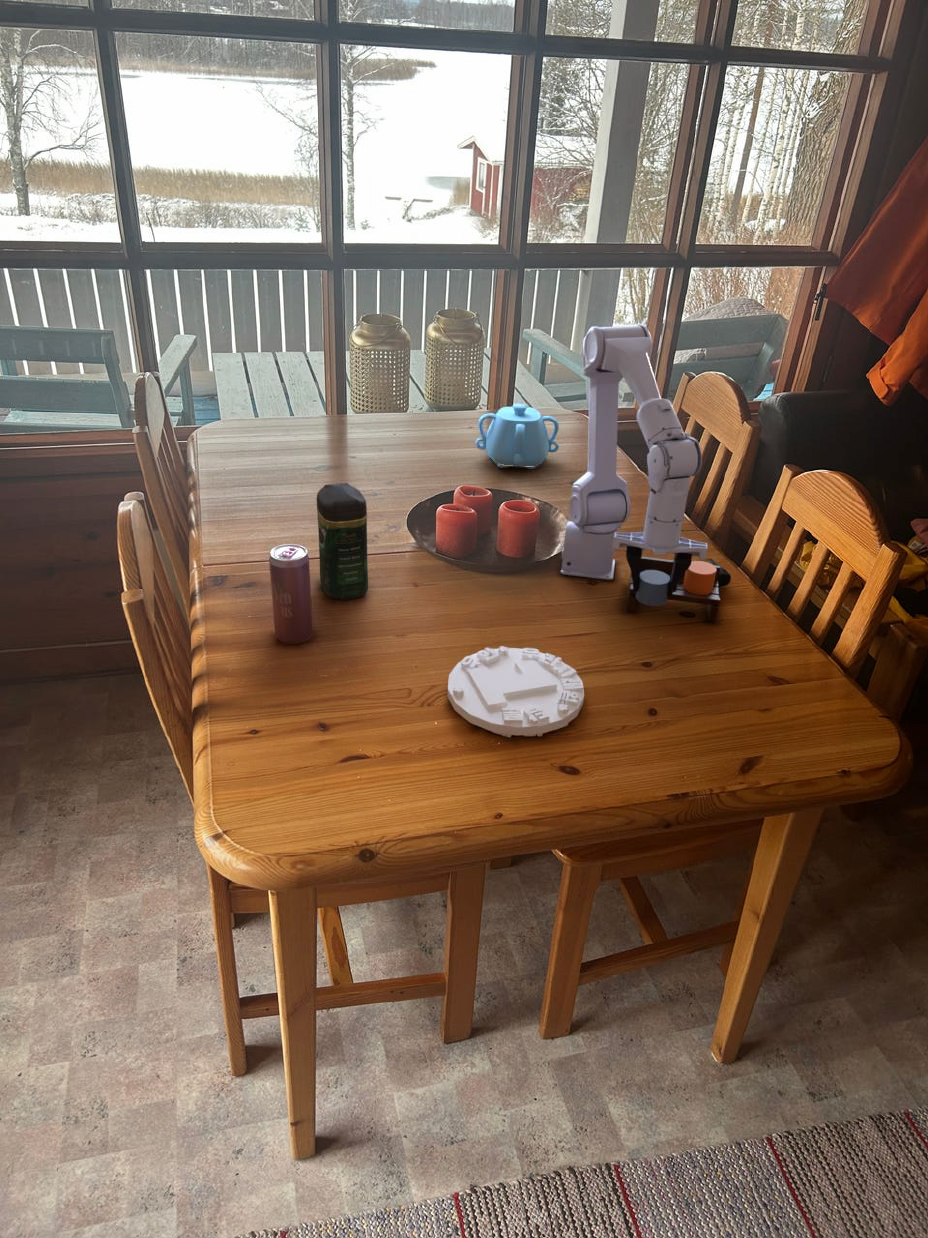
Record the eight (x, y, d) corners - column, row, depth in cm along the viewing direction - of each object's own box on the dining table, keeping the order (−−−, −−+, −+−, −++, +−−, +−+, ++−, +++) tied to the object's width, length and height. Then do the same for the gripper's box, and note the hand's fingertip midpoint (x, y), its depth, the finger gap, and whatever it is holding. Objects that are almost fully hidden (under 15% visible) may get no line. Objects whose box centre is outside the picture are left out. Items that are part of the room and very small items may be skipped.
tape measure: (730, 590, 165) (734, 572, 163) (697, 595, 163) (700, 576, 161) (710, 573, 171) (714, 555, 169) (678, 577, 169) (681, 559, 167)
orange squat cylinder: (683, 593, 155) (686, 572, 153) (682, 579, 160) (686, 559, 158) (713, 596, 155) (717, 576, 153) (712, 583, 159) (716, 562, 157)
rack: (626, 612, 157) (631, 578, 154) (628, 587, 165) (633, 555, 161) (715, 623, 155) (722, 590, 152) (713, 598, 162) (720, 565, 159)
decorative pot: (564, 465, 215) (570, 409, 208) (512, 479, 206) (516, 420, 199) (519, 444, 226) (524, 390, 219) (468, 456, 217) (471, 400, 210)
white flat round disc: (450, 656, 143) (451, 641, 141) (576, 662, 143) (578, 647, 141) (444, 736, 126) (445, 719, 124) (587, 743, 126) (590, 726, 124)
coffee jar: (373, 598, 158) (372, 498, 148) (328, 604, 155) (323, 504, 146) (359, 572, 166) (357, 476, 156) (316, 578, 163) (311, 481, 154)
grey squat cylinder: (635, 603, 148) (638, 582, 146) (636, 589, 152) (639, 568, 150) (666, 608, 147) (670, 586, 145) (666, 593, 152) (670, 571, 149)
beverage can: (319, 630, 148) (315, 547, 141) (302, 648, 143) (296, 564, 136) (286, 623, 150) (280, 540, 142) (268, 641, 145) (261, 556, 137)
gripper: (616, 519, 140) (606, 596, 147) (713, 531, 138) (697, 608, 145) (619, 501, 146) (608, 576, 153) (711, 512, 144) (697, 587, 151)
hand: (652, 590), depth 149 cm, fingers closed on grey squat cylinder, 5 cm apart
